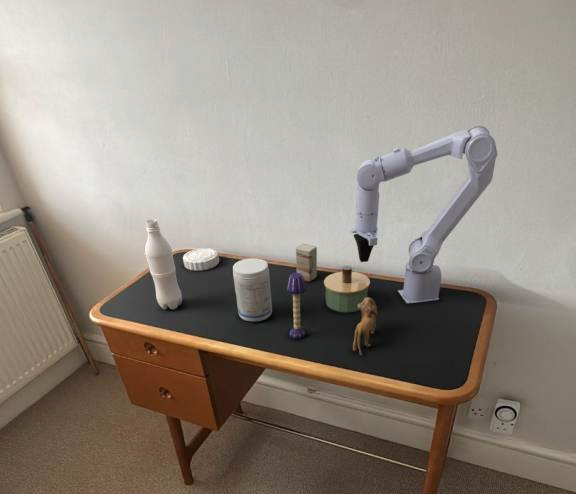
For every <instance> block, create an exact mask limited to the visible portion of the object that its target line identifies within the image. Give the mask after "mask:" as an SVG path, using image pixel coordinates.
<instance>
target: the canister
mask: <svg viewBox="0 0 576 494" xmlns="http://www.w3.org/2000/svg"><path fill="white" fill-rule="evenodd" d="M367 297H369V287H368V288H367V289H365V290H363V291H361V292H357V293H351V294H343V293H336V292H333V291H330V290H328V289H327V288H326V287H325V304H326V307H328V308H329V309H331V310H332V311H335V312H340V313H352V312H353V313H354V312H358V311H360V310H359V309H358V306H357V305H358V304H359V303H362V302H363V301H364V298H367Z"/></svg>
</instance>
